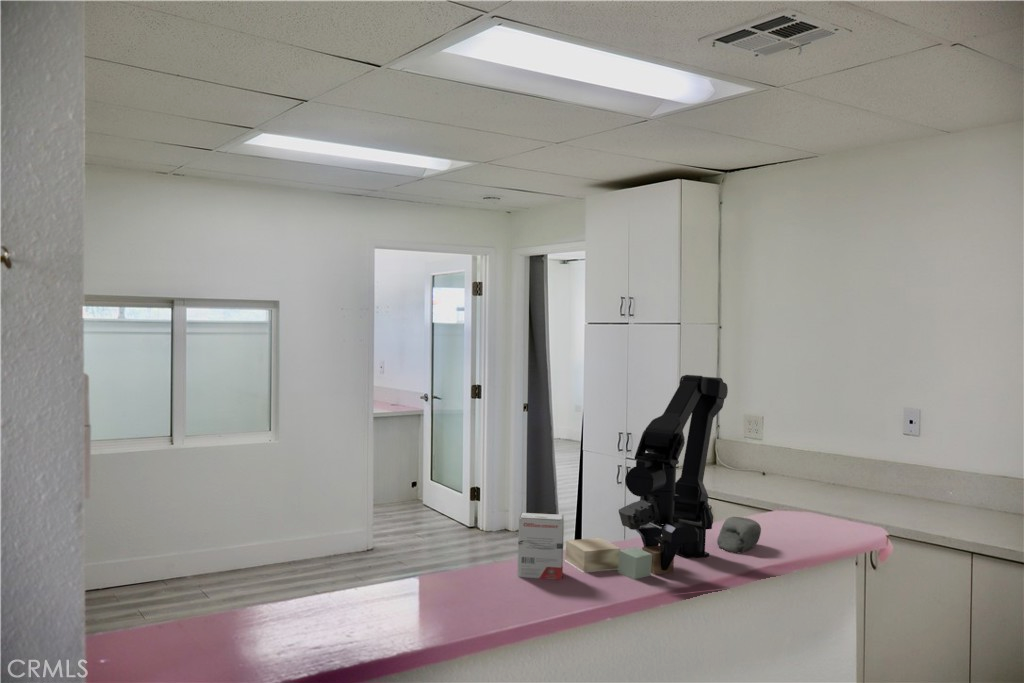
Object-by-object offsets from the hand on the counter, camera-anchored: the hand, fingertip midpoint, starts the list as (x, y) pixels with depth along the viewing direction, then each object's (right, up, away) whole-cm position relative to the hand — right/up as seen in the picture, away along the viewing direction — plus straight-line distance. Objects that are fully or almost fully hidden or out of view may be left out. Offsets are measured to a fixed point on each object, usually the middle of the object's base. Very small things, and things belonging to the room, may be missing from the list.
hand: (657, 566), depth 156 cm
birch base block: (-13, 0, +2) cm, 13 cm away
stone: (+22, -2, +21) cm, 30 cm away
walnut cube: (0, -1, 0) cm, 1 cm away
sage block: (-5, -1, -3) cm, 6 cm away
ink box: (-24, -1, -6) cm, 24 cm away
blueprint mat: (-13, -1, +2) cm, 13 cm away
